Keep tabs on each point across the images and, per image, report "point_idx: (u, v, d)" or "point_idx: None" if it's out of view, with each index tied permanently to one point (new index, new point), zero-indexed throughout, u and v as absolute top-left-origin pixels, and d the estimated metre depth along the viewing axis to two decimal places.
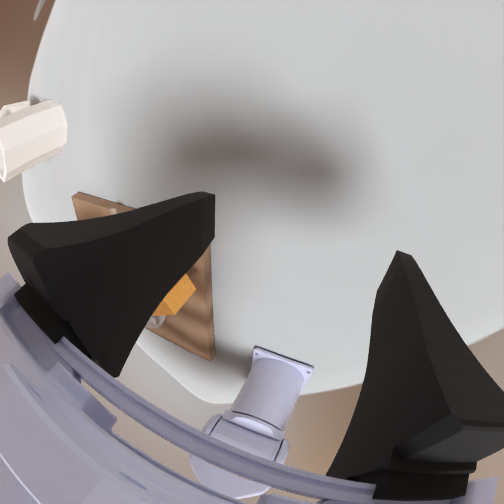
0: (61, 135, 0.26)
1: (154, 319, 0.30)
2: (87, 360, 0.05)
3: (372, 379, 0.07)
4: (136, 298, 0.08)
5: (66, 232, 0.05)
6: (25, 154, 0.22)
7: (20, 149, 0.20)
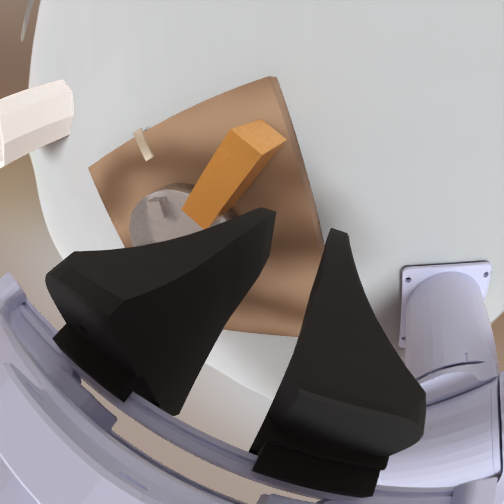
0: (67, 104, 0.22)
1: None
2: None
3: None
4: (204, 332, 0.07)
5: (133, 266, 0.05)
6: (26, 123, 0.18)
7: (19, 115, 0.16)
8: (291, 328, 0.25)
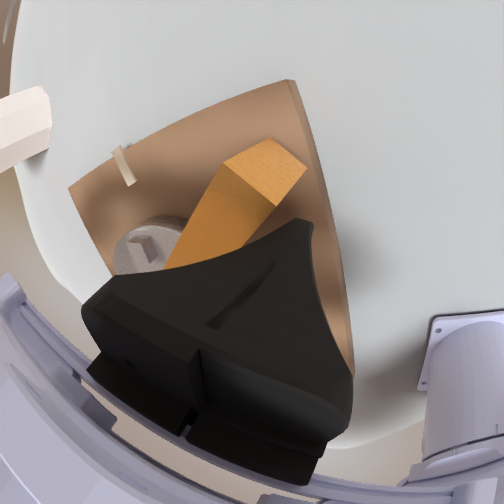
0: (43, 114, 0.18)
1: None
2: (87, 360, 0.05)
3: None
4: None
5: (190, 292, 0.04)
6: None
7: None
8: None
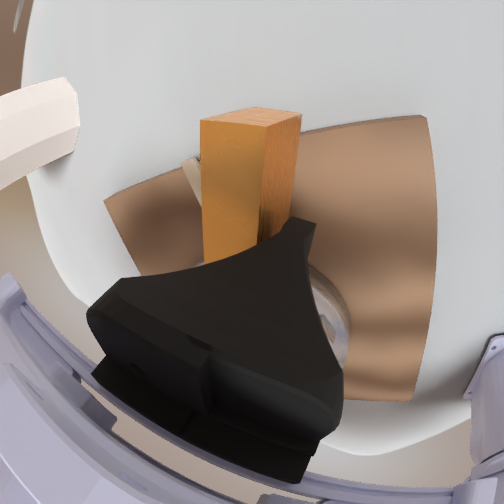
0: (70, 111, 0.16)
1: None
2: (87, 360, 0.05)
3: None
4: None
5: (197, 295, 0.04)
6: (13, 138, 0.12)
7: (3, 129, 0.11)
8: (365, 394, 0.19)
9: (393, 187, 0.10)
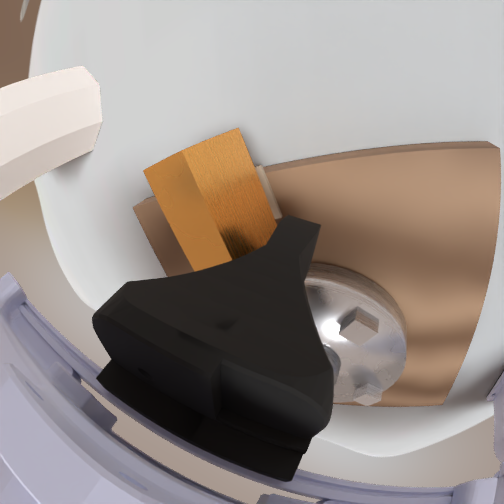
0: (91, 104, 0.15)
1: (356, 325, 0.11)
2: (87, 360, 0.05)
3: None
4: None
5: (206, 299, 0.04)
6: (25, 134, 0.11)
7: (14, 122, 0.10)
8: (402, 401, 0.18)
9: (465, 211, 0.09)
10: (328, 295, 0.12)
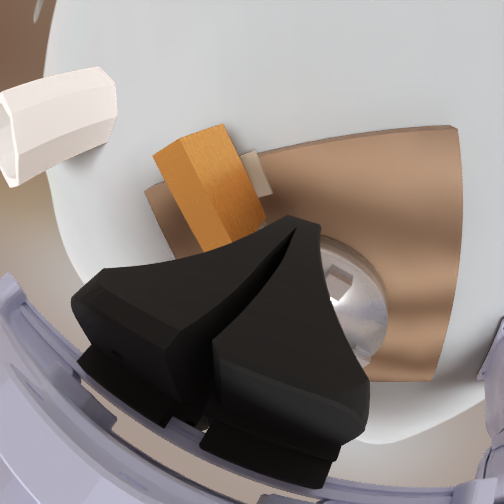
0: (108, 100, 0.17)
1: (331, 279, 0.14)
2: None
3: None
4: None
5: (173, 285, 0.05)
6: (51, 124, 0.13)
7: (41, 113, 0.12)
8: (392, 375, 0.21)
9: (429, 184, 0.12)
10: None
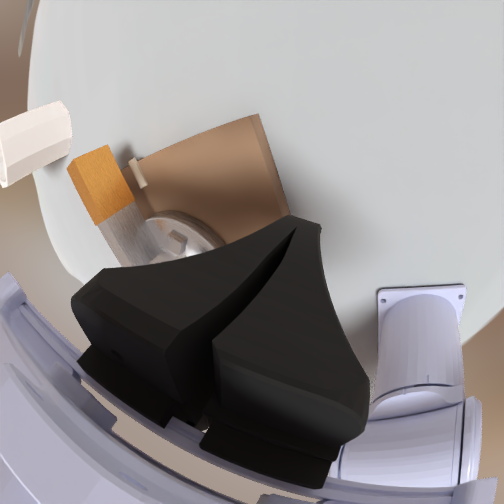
0: (65, 126, 0.24)
1: (169, 238, 0.20)
2: None
3: None
4: None
5: (173, 285, 0.05)
6: (26, 146, 0.20)
7: (19, 140, 0.18)
8: None
9: (237, 164, 0.18)
10: (159, 224, 0.21)
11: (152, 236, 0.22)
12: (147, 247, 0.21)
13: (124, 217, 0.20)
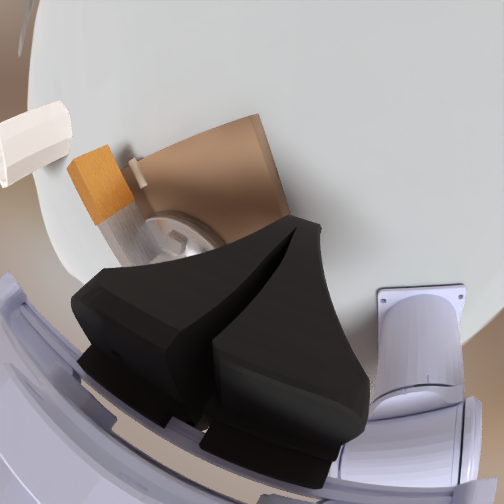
0: (65, 126, 0.24)
1: (169, 238, 0.20)
2: None
3: None
4: None
5: (173, 285, 0.05)
6: (26, 146, 0.20)
7: (19, 140, 0.18)
8: None
9: (237, 164, 0.18)
10: (159, 224, 0.21)
11: (152, 236, 0.22)
12: (147, 247, 0.21)
13: (124, 217, 0.20)
